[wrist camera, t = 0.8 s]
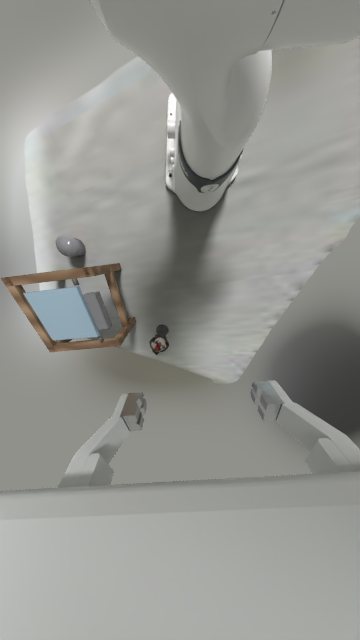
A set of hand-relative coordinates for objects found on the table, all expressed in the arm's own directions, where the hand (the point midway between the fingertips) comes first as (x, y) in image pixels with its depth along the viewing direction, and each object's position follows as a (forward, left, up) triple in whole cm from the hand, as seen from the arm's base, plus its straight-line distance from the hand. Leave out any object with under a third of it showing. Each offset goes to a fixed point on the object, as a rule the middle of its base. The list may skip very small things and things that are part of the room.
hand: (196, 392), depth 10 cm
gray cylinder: (-15, -32, -42) cm, 55 cm away
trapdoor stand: (+2, -31, -42) cm, 53 cm away
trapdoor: (+2, -31, -28) cm, 42 cm away
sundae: (+18, -10, -42) cm, 47 cm away
